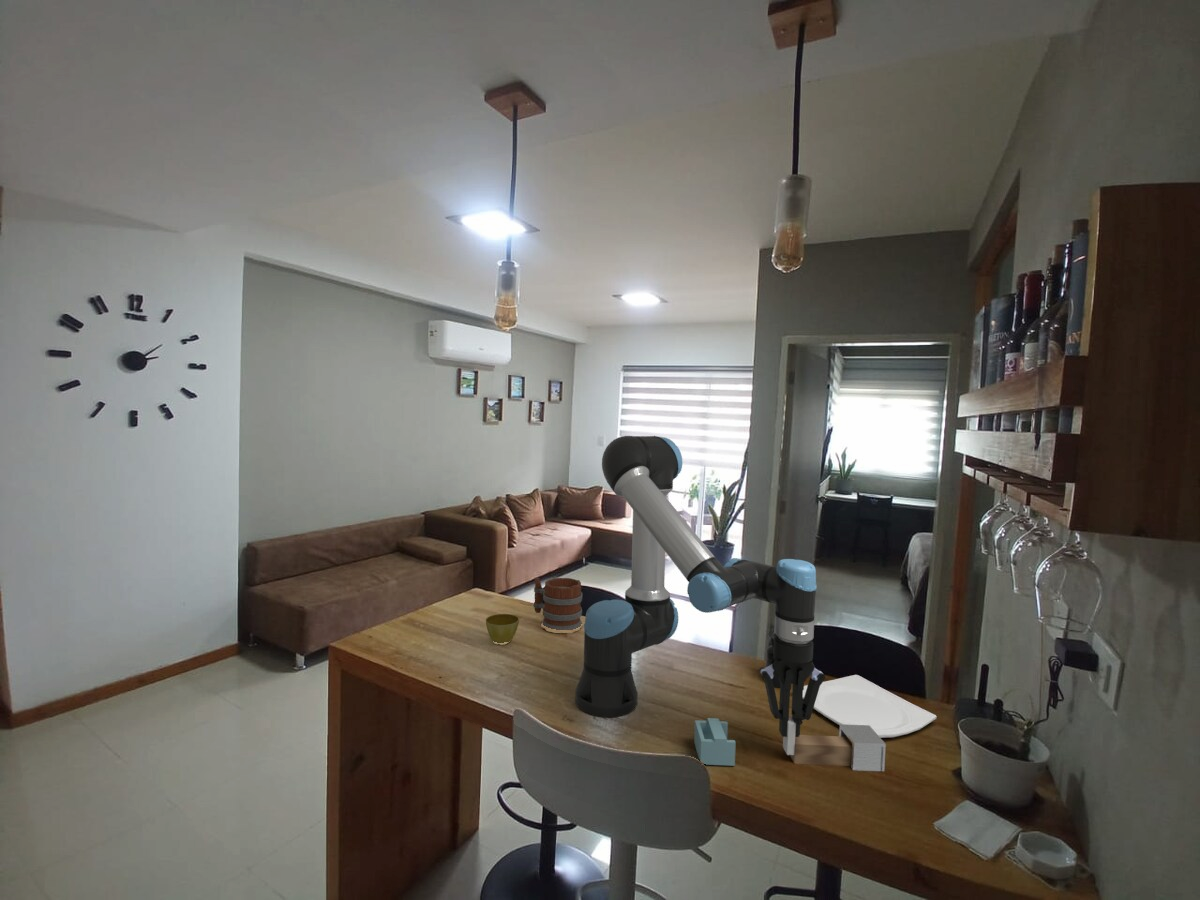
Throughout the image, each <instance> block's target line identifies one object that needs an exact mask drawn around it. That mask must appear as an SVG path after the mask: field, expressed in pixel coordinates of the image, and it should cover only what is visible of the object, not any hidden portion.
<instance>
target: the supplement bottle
mask: <svg viewBox="0 0 1200 900" xmlns="http://www.w3.org/2000/svg"><path fill="white" fill-rule="evenodd" d="M774 636H775V635H772V636H771V637H770V645H769V646H767V648H766V653H765V668H766V667H768V666H769V665H771V660H772V659H773V652H774ZM772 681H773V684H774V688H779V689H780V679H779V677H778V676H777V674H776V673H775V671H774V672H773V679H772Z"/></svg>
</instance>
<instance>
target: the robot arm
mask: <svg viewBox="0 0 1200 900" xmlns="http://www.w3.org/2000/svg"><path fill="white" fill-rule="evenodd" d="M682 469H683V456H682V452H681V451H680V448H679V446H677V445H676V443H675V442H674V441H673V440H671V439H670V438H667V437H663V436H658V435H649V436H648V435H646V436H645V435H623V436H619V437H617V438H614V439H613V440H612V441H610V443H608V445H606V448H605V449H604V451H603V454H602V458H601V470H602V473H603V476H604V478H605V480H606V483H607V485H609V487H610V489H611V490H612V491H613V492H614V494H615V495H616V496H617V497H620V498H624V500H625V501H626V503H627V504H628V505H629V506H630V508H631V510H632V536H631V537H632V539H631V540H632V542H631V544H632V545H631V574H630V575H631V583H630V586H629V587H628V588H627V589H626V590H625V592H624V600H623V599H611V600H608V599H604V600H601V601H598V602H595V603H593V604H592V605H591V606H590V607H588V609H587V610H586V612H585V613H586V614H585V621H584V624H583V630H584V631H583V632H584V633H583V634H584V635H583V636H584V637H583V639H584V640H583V641H584V644H583V669H582V672H581V675H580V677H579V680H578V683H577V686H576V689H575V700H574V701H575V704H576V706H577V707H578V708H579V709H580V710H581V711H583V712H584V713H586V714H588V715H591V716H596V717H600V718H601V717H602V718H616V717H621V716H625V715H627V714H630V713H631V712H632V711H635V709H636V708H637V706H638V696H639V695H638V690H637V686H636V683H635V679H634V676H633V671H632V659H633V658H632V657H633V654H634V653H636V652H639V651H642V650H645V649H647V648H650V647H651V646H654V645H655V646H657V645H660V644H662V643H664V642H665V641H667V640H669V639H670V638H671V637H672V636H673V635H674V634H675V633H676V631H677V629H678V626H679V625H678V624H679V611H678V608H677V607H675V602H674V601H673V599H671V593H670V592H669V591H668V590H667V588H666V587H665V576H666V575H665V571H666V569H665V568H666V554H667V556H668V558H670V560H671V561H672V562H673V563H674V565H675V566H676V568H677V569H678V570H679V571H680V573H681V574H682V576H684V578H685V580H686V581H687V582H688V584H687V590H686V591H687V592H686V593H687V595H688V597H689V602H690V603H691V605H692V607H694V608H695V609H696V610H698V611H699V612H702V613H706V614H708V613H715V612H720V611H723V610H725V609H728V608H729V607H731V606H735V605H737V604H740V603H744V602H746V601H749V600H752V599H753V600H754V599H755V600H758V601H759V600H760V601H764V602H766V603H770V604H774V606H775V607H774V608H775V611H774V613H775V615H774V630H773V631H774V634H775V635H773V636H774V652H773V659H772V660H771V665H769V666H768V667H766V666H765V667H763V666H760V668H759V669H758V670H759V671H758V672H759V673H760V674H761V676H762V677H763V680H764V686H765V690H766V695H767V696H766V697H767V700H768V705H769V710H770V711H769V712H771V714H772V716H773V718H774V719H776V720H779V725H778V731H779V733H780V735H781V737H782V748H783V750H784V752H785V754H786V755H787V756H790V755H794V752H795V737H799V735H801V725H803V723H804V722H803V721H805V720H806V721H809V720H811V717H812V714H813V711H814V704H815V701H816V698H817V694H818V691H819V687H820V685H821V684H822V683H823V682H825V680H826V675H825V674H824V673H823V672H822V671H821V670H820V669H818V668H816V667H815V664H814V663H813V658H814V641H813V639H814V634H815V633H814V631H815V609H816V597H817V596H816V595H817V587H818V585H817V570H816V567H815V565H814V564H812V563H811V562H809V561H806V560H802V559H793V558H783V559H780V560H778V561H777V565H776V566H774V565H770V564H765V563H761V562H758V561H757V562H756V561H752V560H750V559H747V558H736V557H733V558H732V557H731V558H729V559H728V561H727V562H726V563H725V564H724V566H723V565H722V564H721V562H720V561H719V560H718V559H717V558H716V557H715V555H714V554H713V553H712V551H711V550H710V549H709V548H708V547H707V545H705V544H704V542H703V540H701V538H700V537H699V535H697V534H696V532H695V531H694V530H693V529H692V527H691V526H690V525H689V524H688V522H687V521H686V520H685V519H684V517H682V515H681V514H680V513H679V512H678V510H677V509H676V508H675V506H674V505H673V504H672V503H671V502H670V501H669V499H668V498H667V496H668V495H669V493H671V491H673V489H674V487H673V486H674V480H675V479H677V477H679V474H681V472H682ZM774 671H775V673H776V674H777V676H778V677H779V679H780V688H779V705H778V700H777V694H776V691H775V687H774V684H773V681H772V679H773V672H774ZM809 677H810V678H809ZM807 679H809V681H808V683H807V685H808V686H807V690H806V693H805V696H804V699H803V698H802V697H803V690H804V686H805V682H806V681H807ZM791 689H792V695H791ZM790 697H791V716H790Z"/></svg>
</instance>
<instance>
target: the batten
mask: <svg viewBox="0 0 1200 900" xmlns="http://www.w3.org/2000/svg"><path fill="white" fill-rule="evenodd" d="M789 756H790V759H791V760H792V762H793V764H795V765H796V764H797V765H801V764H802V765H822V766H823V765H824V766H841V767H843V766H844V767H851V759H852V742H851V741H850V740H849V738H848V737H841V736H839V735H837V736H836V735H835V736H834V735H816V734H815V735H813V734H800V735H799V737H795V752H794V755H789Z"/></svg>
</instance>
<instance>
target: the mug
mask: <svg viewBox="0 0 1200 900" xmlns="http://www.w3.org/2000/svg"><path fill="white" fill-rule="evenodd" d="M533 592H534V601H533V608H534V611H535V614H540V613H541V611H542V617H543V620H542V621H543V622H541V623H543V625H544V626H546V627H548V628H551V629H556V630H573V629H576V628H578V627H580V626H581V624H583V622H582V620H581V617H582V616H583V609H582V607H581V602H582V601H583V592H582V582H581V580H579V579H575V578H571V577H553V578H551V579H550V578H549V579H548V580H546V581H545V582H544V588H543V587H542V582H541V580H540V578H539V577H534V588H533ZM542 601H544V603H543V602H542Z"/></svg>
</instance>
